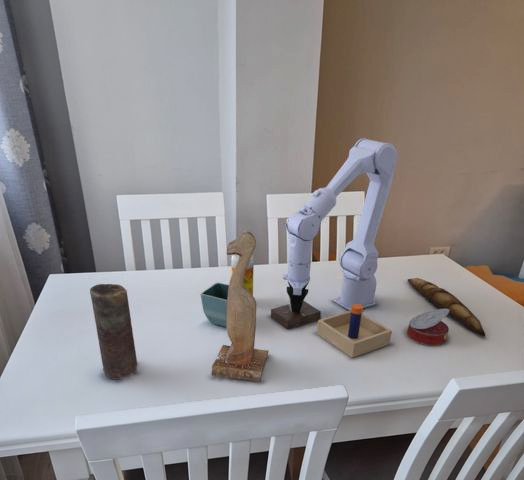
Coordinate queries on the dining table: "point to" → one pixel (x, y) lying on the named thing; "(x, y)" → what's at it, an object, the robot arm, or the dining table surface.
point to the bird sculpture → (240, 320)
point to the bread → (448, 304)
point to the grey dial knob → (294, 312)
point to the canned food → (429, 327)
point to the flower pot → (216, 303)
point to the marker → (355, 321)
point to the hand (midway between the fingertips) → (296, 308)
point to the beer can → (249, 272)
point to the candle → (114, 330)
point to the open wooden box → (368, 338)
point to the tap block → (295, 315)
